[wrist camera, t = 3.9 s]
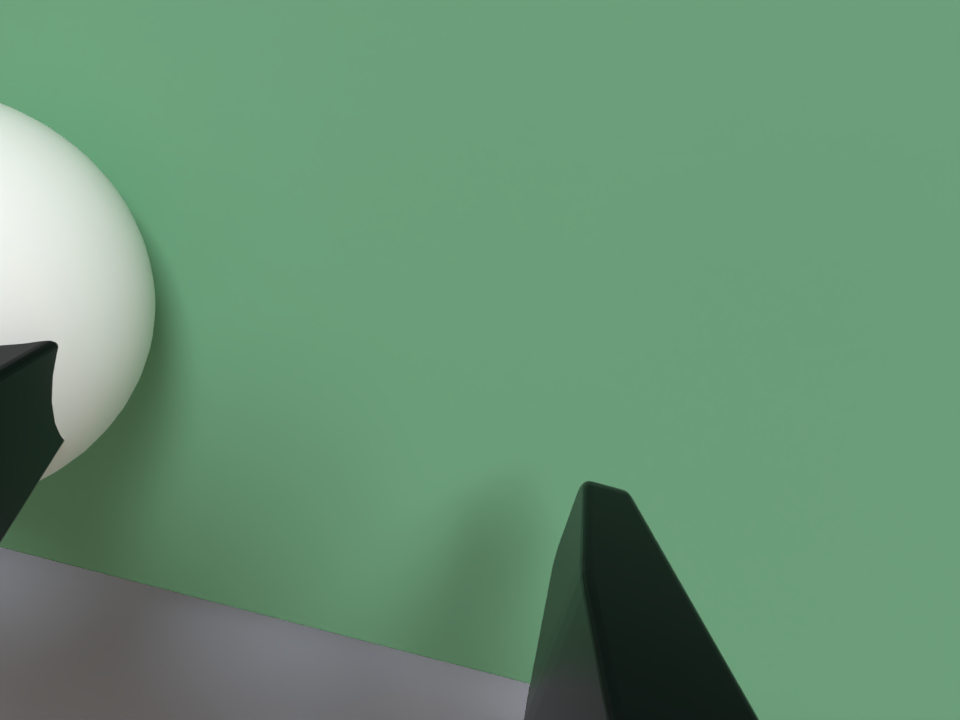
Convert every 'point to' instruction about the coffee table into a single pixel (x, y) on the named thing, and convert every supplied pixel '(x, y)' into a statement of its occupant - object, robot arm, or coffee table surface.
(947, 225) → the putting mat
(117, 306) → the ball
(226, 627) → the coffee table surface
